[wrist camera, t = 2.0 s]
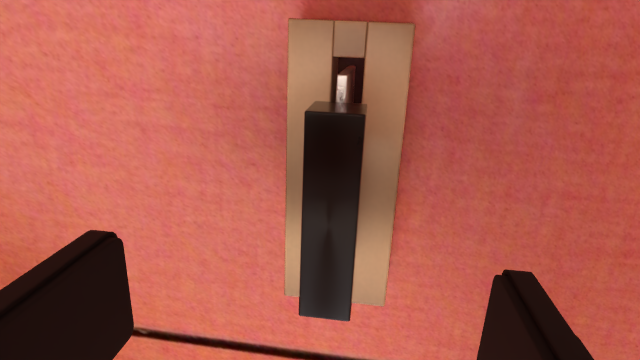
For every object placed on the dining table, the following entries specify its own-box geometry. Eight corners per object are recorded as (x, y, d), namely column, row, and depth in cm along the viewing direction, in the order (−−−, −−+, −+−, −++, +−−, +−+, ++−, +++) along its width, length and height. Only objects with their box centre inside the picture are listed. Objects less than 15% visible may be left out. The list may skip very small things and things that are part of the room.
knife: (332, 64, 21) (304, 79, 13) (371, 66, 21) (368, 82, 13) (323, 240, 24) (297, 337, 16) (357, 243, 24) (348, 343, 16)
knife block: (300, 21, 20) (288, 18, 18) (410, 25, 20) (415, 23, 17) (294, 267, 25) (284, 295, 22) (383, 276, 24) (384, 307, 22)
